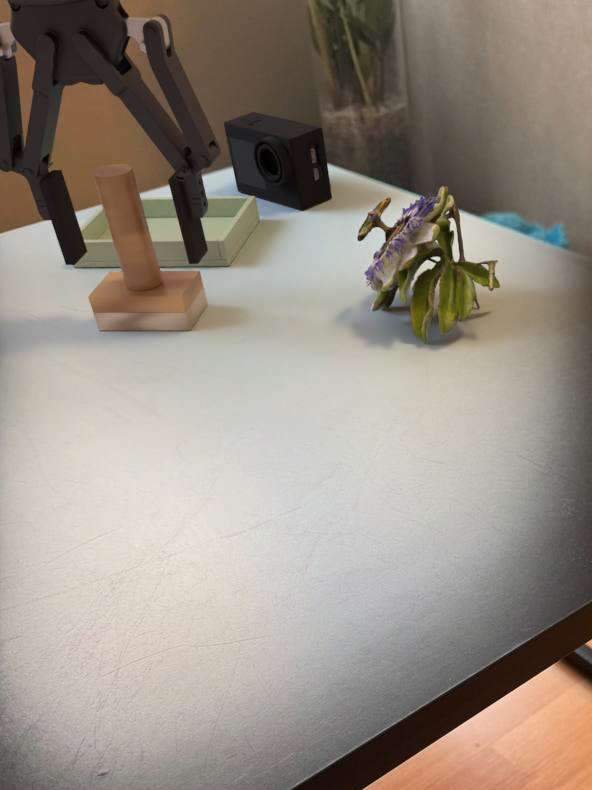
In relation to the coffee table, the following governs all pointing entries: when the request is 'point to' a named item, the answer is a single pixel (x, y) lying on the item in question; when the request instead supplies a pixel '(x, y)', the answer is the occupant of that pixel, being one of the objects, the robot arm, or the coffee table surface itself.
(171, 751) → the coffee table surface
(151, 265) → the brush
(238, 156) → the digital camera
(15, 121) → the robot arm
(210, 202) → the tray
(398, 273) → the passion flower
